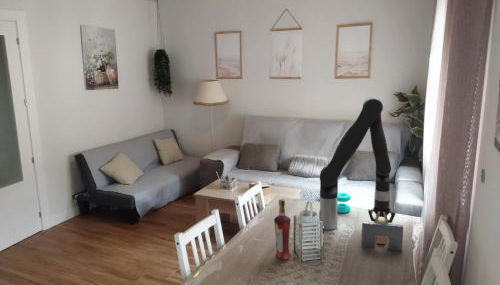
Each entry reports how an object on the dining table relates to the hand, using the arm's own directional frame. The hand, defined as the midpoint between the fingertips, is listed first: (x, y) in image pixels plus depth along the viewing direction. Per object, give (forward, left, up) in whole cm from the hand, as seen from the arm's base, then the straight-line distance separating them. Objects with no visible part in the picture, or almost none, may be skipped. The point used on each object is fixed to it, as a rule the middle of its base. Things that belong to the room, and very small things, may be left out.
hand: (381, 228), depth 194 cm
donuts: (-22, +23, -1) cm, 32 cm away
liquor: (-43, -41, -1) cm, 59 cm away
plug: (0, -7, 0) cm, 7 cm away
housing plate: (0, -20, -1) cm, 20 cm away
